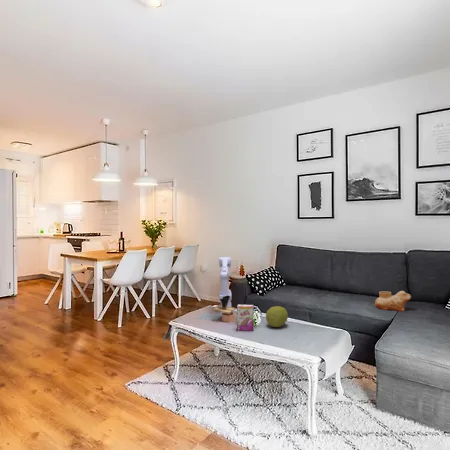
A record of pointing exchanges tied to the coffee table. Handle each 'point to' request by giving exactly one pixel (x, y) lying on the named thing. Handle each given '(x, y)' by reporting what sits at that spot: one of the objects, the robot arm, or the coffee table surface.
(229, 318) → the terracotta bowl
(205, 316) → the grey flat square slab
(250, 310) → the candy bar box
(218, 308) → the oak lid
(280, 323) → the fruit
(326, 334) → the coffee table surface
